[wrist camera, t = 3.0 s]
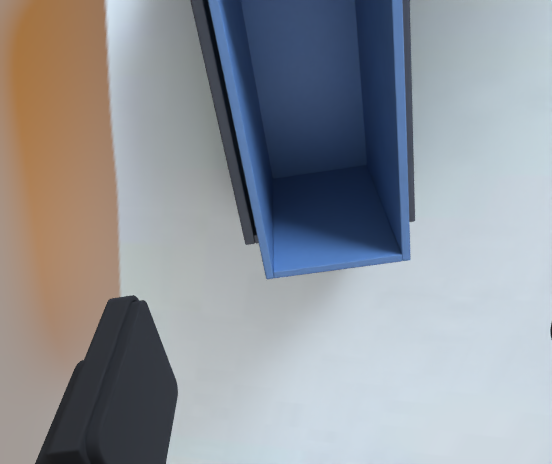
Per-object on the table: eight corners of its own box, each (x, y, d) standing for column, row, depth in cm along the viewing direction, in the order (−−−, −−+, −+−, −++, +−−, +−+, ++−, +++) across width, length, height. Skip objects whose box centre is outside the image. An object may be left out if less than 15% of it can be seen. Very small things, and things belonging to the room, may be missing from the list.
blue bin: (353, -100, 27) (399, -111, 17) (372, 166, 34) (410, 260, 25) (220, -75, 27) (192, -72, 18) (267, 181, 35) (266, 279, 25)
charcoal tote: (381, -143, 26) (406, -157, 21) (395, 180, 35) (415, 221, 31) (184, -105, 27) (165, -110, 22) (249, 202, 36) (245, 245, 31)
